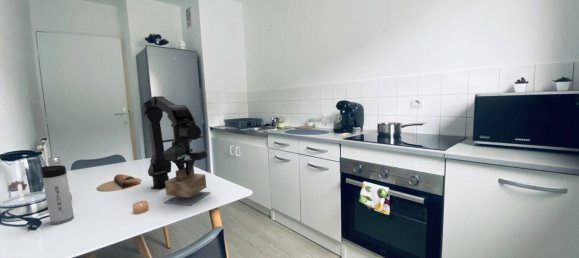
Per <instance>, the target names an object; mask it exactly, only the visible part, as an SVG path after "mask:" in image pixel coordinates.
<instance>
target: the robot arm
mask: <svg viewBox="0 0 579 258" xmlns="http://www.w3.org/2000/svg"><path fill="white" fill-rule="evenodd" d="M141 105H142V106H141V108H140V111H141V115H142V116H143V119H144V120H145V121H146V122H147V124H148V128H149V130H148V131H149V135H150V136H149V137H150V142H151V148H152V156H151V157H150V159H149V162H150V165H149V167H148V170H147V173H148V176H149V177H151V178H152V183H153V185H152V186H151V187H150V189H158V190H162V189H166V187H165V181H167V180H170V178H169V174H168V173H171V172H172V163H174V164H175V166H176V167H177V170H179V169H182V168H184V167H186V173H187V176H189V175H190V173H191V170H192V167H193V166H194V164H195V162H196V161H200V160H203V159H206V158H207V157H208V153H207V151H206V150H195V151H194V150H193V148H191V143H192V142H193V141H195V140H198V139H199V138H200V136H201V134H202V129H201V128H200V126H198V125H197V124H196V121H195V117H194V116H193V115H192V113H191V111H190V109H189V107H187V106H185V105H178V104H175V103H173V102H172V101H170V100H168V99H166V97H165V96H163V95H159V96H157V95H156V96H155V95H153V96H151V98H150V99H149V100H147V101H145V102H144V103H142V104H141ZM163 113H166V114H167V119H169V121H170V122H171V125H170V126H171V128H172V131H173V132H172V133H173V134H172V135H173V141H171V146H170V147H168V148H167V149H165V148H164V147H165V146H164V141H163V133H162V127H161V121H162V118H163V116H164V114H163Z"/></svg>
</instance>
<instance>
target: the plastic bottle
mask: <svg viewBox="0 0 579 258" xmlns="http://www.w3.org/2000/svg"><path fill="white" fill-rule="evenodd" d="M61 162H62V160H61V156H55V157H49V158H47V164H48V166H56V165H61V166H65V165H64V164H62V163H61ZM65 168H66V173H67V174H68V170H67V167H66V166H65ZM70 196H71V202H73V196H72V193H71V192H70Z"/></svg>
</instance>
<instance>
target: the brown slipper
mask: <svg viewBox="0 0 579 258" xmlns="http://www.w3.org/2000/svg"><path fill="white" fill-rule="evenodd" d="M113 181H114V182H115V183H117V184H118V185H120V187H121V188H123V189H127V188H131V187H134V186H138V185H141V184H142V183H141V182H140V181H138V180H137V179H136V178H135V177H133V176H132V175H127V174H123V173H122V174H116V175H115V176H114V177H113Z"/></svg>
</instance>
